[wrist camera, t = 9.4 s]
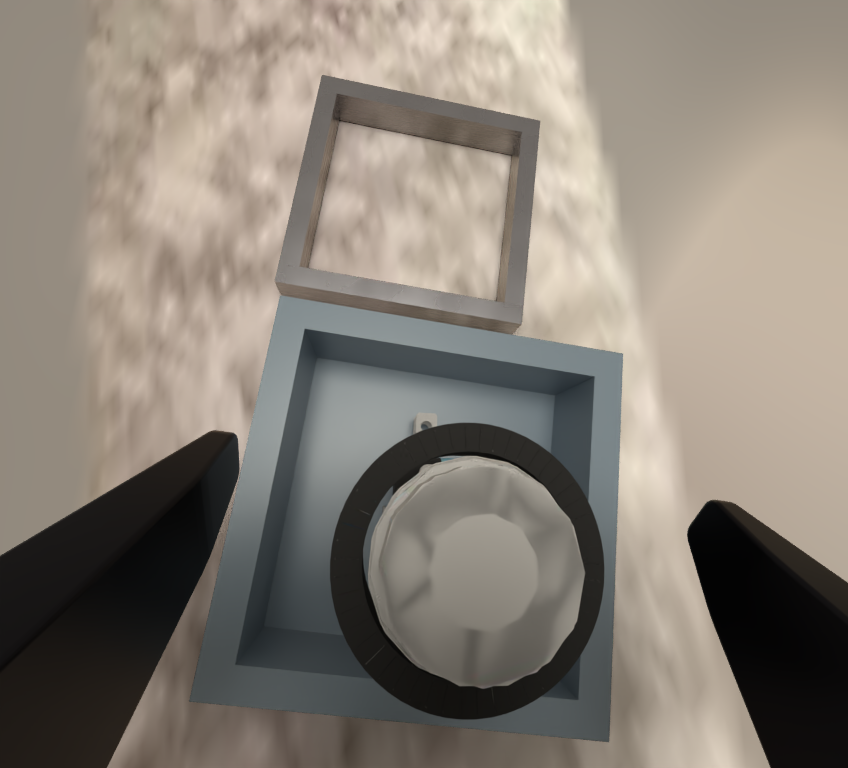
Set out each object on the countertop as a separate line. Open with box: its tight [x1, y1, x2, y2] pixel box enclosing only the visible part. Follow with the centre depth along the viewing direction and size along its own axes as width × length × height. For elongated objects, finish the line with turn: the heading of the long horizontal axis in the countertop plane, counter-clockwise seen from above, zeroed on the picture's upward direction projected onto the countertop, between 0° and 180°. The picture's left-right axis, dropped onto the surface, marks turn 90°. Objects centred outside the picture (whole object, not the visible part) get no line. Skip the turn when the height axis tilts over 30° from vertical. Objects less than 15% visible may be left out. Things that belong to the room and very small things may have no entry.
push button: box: [330, 413, 605, 720], centre depth 13 cm, size 7×5×10 cm
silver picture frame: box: [275, 75, 540, 335], centre depth 20 cm, size 10×10×2 cm
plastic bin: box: [189, 295, 623, 742], centre depth 16 cm, size 12×12×4 cm
